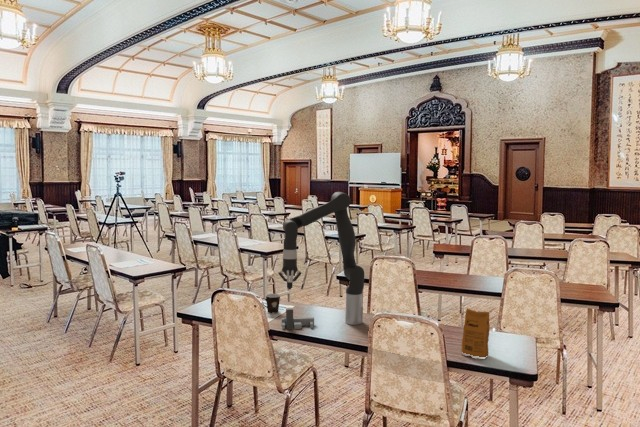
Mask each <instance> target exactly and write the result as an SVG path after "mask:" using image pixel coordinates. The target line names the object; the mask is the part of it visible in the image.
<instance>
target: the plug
mask: <svg viewBox="0 0 640 427" xmlns="http://www.w3.org/2000/svg"><path fill="white" fill-rule="evenodd" d="M285 318H286V327H285V330H294V326H293V318H294V306H293V305H286V306H285Z"/></svg>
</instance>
